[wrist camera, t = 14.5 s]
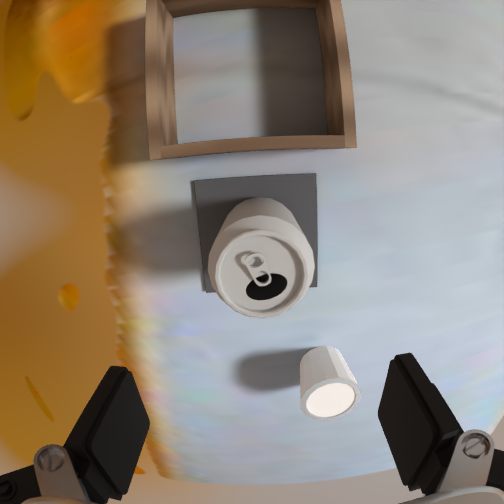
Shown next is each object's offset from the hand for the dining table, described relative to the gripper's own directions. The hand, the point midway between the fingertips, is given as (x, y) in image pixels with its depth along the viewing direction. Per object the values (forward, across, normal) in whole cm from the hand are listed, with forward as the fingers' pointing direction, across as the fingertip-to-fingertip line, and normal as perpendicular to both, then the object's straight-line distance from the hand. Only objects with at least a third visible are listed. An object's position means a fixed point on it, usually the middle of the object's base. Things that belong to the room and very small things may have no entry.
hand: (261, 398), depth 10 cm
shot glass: (+23, -7, +17) cm, 30 cm away
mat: (+23, 0, 0) cm, 23 cm away
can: (+23, 0, 0) cm, 23 cm away
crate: (+23, 0, -17) cm, 29 cm away
